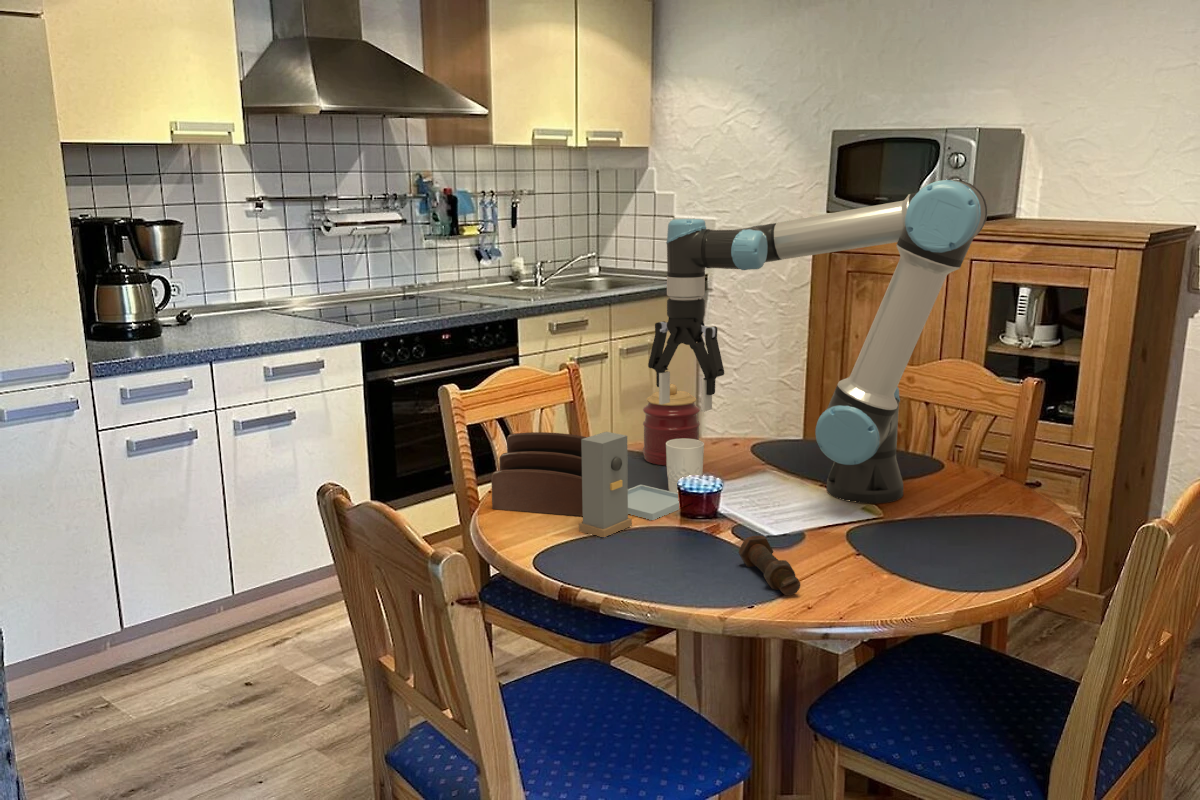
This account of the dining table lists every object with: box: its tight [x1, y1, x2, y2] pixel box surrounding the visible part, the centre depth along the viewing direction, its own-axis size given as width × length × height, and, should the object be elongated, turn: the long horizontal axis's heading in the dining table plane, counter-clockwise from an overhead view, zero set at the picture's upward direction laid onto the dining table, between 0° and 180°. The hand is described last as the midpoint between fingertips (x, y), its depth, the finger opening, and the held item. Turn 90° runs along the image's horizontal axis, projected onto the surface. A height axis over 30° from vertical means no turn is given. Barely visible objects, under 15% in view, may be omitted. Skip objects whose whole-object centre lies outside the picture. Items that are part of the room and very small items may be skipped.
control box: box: [578, 431, 633, 538], centre depth 183 cm, size 6×8×18 cm
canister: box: [642, 383, 701, 466], centre depth 228 cm, size 13×13×18 cm
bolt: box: [738, 535, 801, 596], centre depth 160 cm, size 6×5×15 cm
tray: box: [628, 484, 680, 521], centre depth 197 cm, size 13×13×1 cm
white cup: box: [666, 438, 705, 493], centre depth 206 cm, size 8×8×10 cm
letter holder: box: [490, 431, 588, 517], centre depth 197 cm, size 10×20×14 cm, turn 74°
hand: (685, 406), depth 203 cm, fingers open, 10 cm apart
